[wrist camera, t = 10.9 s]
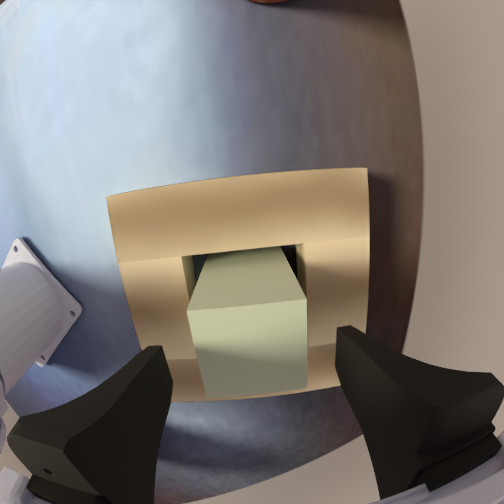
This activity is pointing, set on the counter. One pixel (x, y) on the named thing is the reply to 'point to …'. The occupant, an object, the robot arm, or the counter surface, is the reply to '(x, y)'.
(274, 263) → the peg
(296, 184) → the well block
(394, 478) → the robot arm
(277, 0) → the supplement bottle
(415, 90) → the counter surface
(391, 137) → the counter surface
